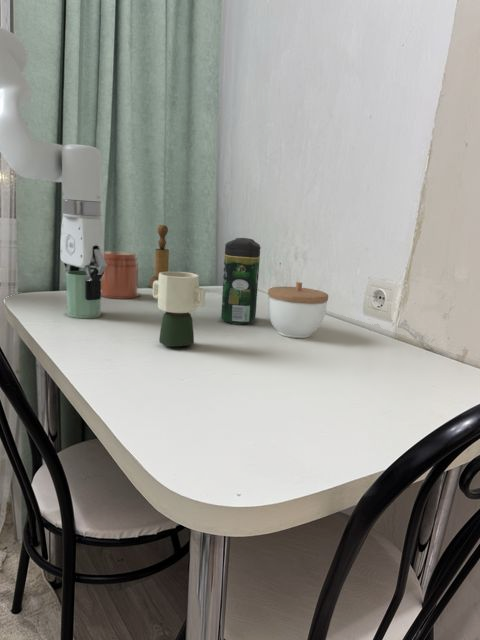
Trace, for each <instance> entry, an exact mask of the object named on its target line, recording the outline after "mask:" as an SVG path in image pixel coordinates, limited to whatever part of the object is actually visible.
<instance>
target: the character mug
mask: <svg viewBox="0 0 480 640" xmlns="http://www.w3.org/2000/svg"><path fill="white" fill-rule="evenodd" d="M152 298H154V299H156V300H157V307H158V309H159V310H160V311H163V312H164V313H163V315H162V319H161V325H160V330H159V337H158V338H159V339H158V340H159V341H158V342H159V343H160V344H161V345H163V346H167V347H182V348H184V347H185V346H188V345H189V346H190V345H193V344H195V340H194V339H195V336H194V335H195V334H194V324H193V322H194V321H193V317H192V315H191V313H192V312H195V311H197V309H198V307H199V308H202V307H204V306H205V303H206V289H205V288H203V287H200V276H199V274H196V273H194V272H189V271H168V272H161V273H159V281H157V280H156V281H154V282H153V288H152Z"/></svg>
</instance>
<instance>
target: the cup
mask: <svg viewBox="0 0 480 640" xmlns="http://www.w3.org/2000/svg"><path fill="white" fill-rule="evenodd" d="M92 272H93V270H92V271H91V274H92ZM85 281H88V280H87V276H86V272H85V270H81V271H68V272H66V271H65V286H66V287H65V288H66V289H65V290H66V291H65V292H66V293H65V294H66V315H67V316H68V317H70V318H74V319H94V318H99V317H100V316H101V313H102V298H101V299H98V300H86V289H85Z"/></svg>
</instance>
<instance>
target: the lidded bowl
mask: <svg viewBox="0 0 480 640" xmlns="http://www.w3.org/2000/svg"><path fill="white" fill-rule="evenodd" d="M267 293H268V294H267V295H268V297H267V298H268V299H267V312H268V318H269V321H270V323H271V325H272V326H273V328H274V329H275V330H276V332H277V334H278V335H280V336H283V337H286V338H292V339H306V338H310V337H311V336H312V334H314V333H315V332H316V331H318V329H319V328H320V327H321V326H322V323H323V321H324V319H325V315H326V312H327V305H328V301H329V294H328V293H326V292H325V291H322V290H318V289H314V288H308V287H303V282H301V281H297V282H296V283H295V286H272V287H270V288H268V290H267Z"/></svg>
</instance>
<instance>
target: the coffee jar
mask: <svg viewBox="0 0 480 640" xmlns="http://www.w3.org/2000/svg"><path fill="white" fill-rule="evenodd" d="M224 245H225V247H224V257H223V273H222V274H223V275H222V295H221V296H222V297H221V313H220V315H221V316H220V317H221V320H222V321H223V322H226V323H230V324H234V325H242V324H245V325H246V324H249V325H250V324H252V323H254V322H255V320H256V315H257V301H258V290H259V289H258V286H259V276H260V275H259V274H260V262H261V261H260V260H261V249H262V247H261V244H259V243H258V242H257V241H255V240H254V239H253V238H248V237H236V238H234V239H232V240H230V241H227V242H226V243H225V244H224Z"/></svg>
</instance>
